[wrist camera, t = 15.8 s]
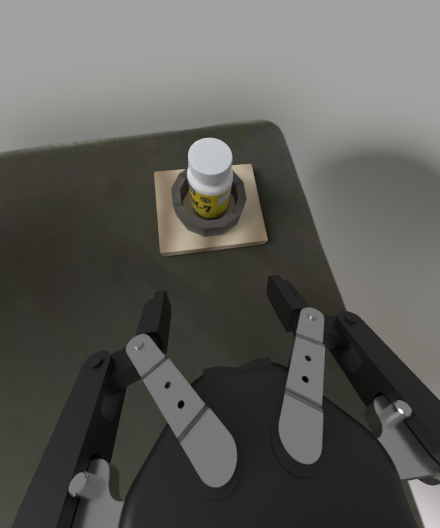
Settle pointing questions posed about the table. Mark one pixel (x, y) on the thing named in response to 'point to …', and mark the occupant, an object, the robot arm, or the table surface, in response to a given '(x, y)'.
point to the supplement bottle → (210, 177)
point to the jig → (211, 231)
